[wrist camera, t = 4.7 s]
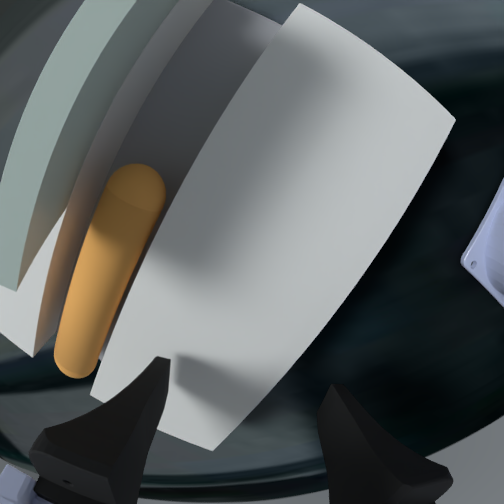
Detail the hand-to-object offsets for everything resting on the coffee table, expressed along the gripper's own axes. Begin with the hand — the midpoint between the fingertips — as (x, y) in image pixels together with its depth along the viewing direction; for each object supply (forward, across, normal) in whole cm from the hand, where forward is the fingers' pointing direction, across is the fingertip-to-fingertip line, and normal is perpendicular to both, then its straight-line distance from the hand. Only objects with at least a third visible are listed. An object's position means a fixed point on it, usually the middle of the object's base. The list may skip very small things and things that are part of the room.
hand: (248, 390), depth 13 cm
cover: (-2, +6, -11) cm, 13 cm away
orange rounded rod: (+1, +8, -3) cm, 8 cm away
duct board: (+4, +5, -6) cm, 9 cm away
